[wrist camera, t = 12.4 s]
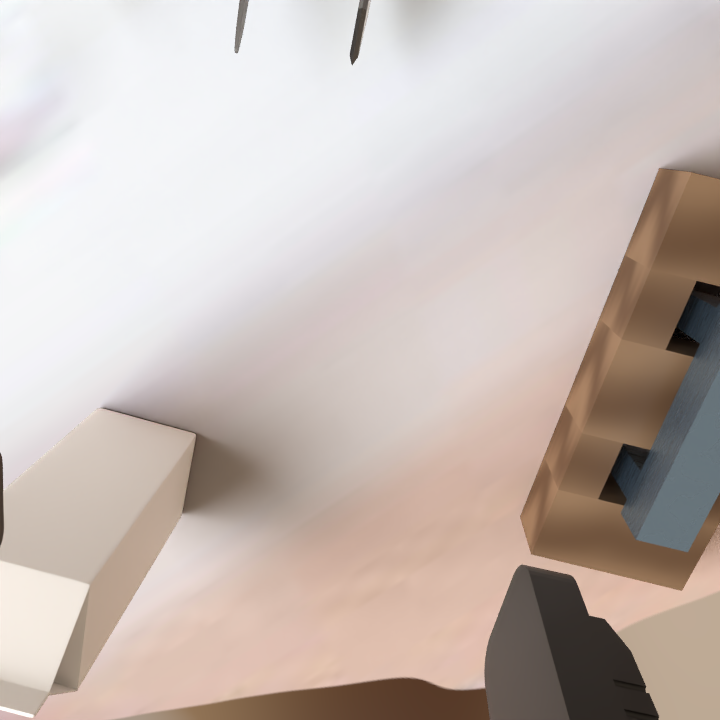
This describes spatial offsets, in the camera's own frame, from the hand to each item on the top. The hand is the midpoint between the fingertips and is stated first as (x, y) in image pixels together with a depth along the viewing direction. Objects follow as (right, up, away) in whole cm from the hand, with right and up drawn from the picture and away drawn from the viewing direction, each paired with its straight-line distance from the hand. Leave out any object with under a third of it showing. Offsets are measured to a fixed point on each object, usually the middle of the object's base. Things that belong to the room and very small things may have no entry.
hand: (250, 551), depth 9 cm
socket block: (+21, +2, +28) cm, 35 cm away
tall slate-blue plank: (+21, +2, +28) cm, 35 cm away
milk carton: (-14, -4, +33) cm, 37 cm away
